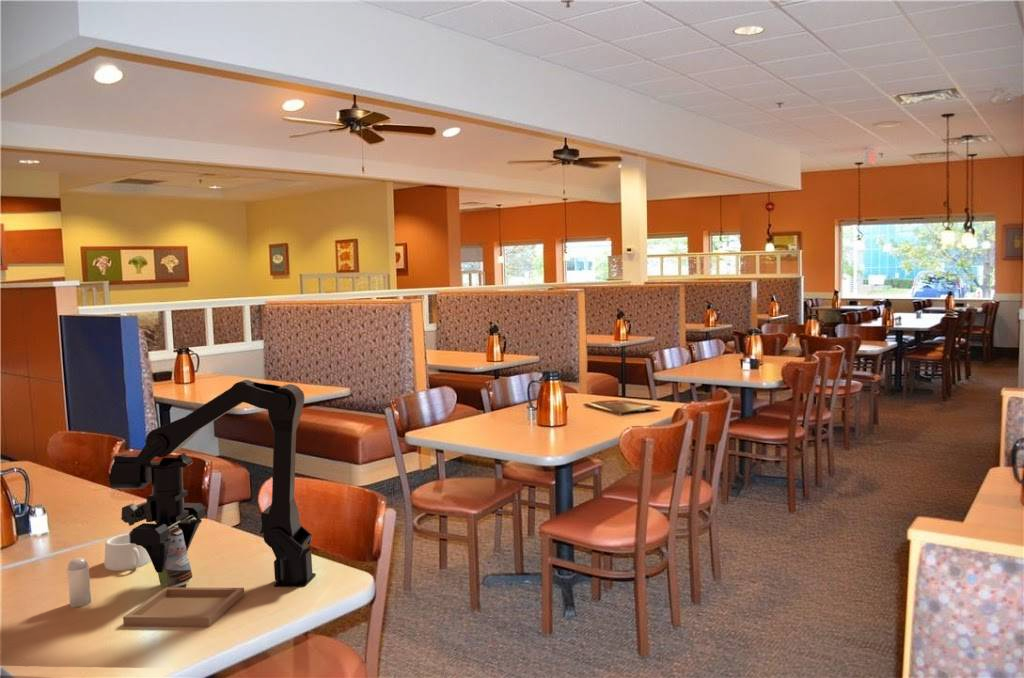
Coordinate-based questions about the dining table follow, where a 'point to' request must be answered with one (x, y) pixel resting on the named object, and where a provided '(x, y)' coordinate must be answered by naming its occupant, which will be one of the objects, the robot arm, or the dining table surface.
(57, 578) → the dining table surface
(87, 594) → the salt shaker
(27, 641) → the dining table surface
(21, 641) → the dining table surface
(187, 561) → the beverage can
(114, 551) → the mug
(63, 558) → the dining table surface
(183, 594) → the tray
